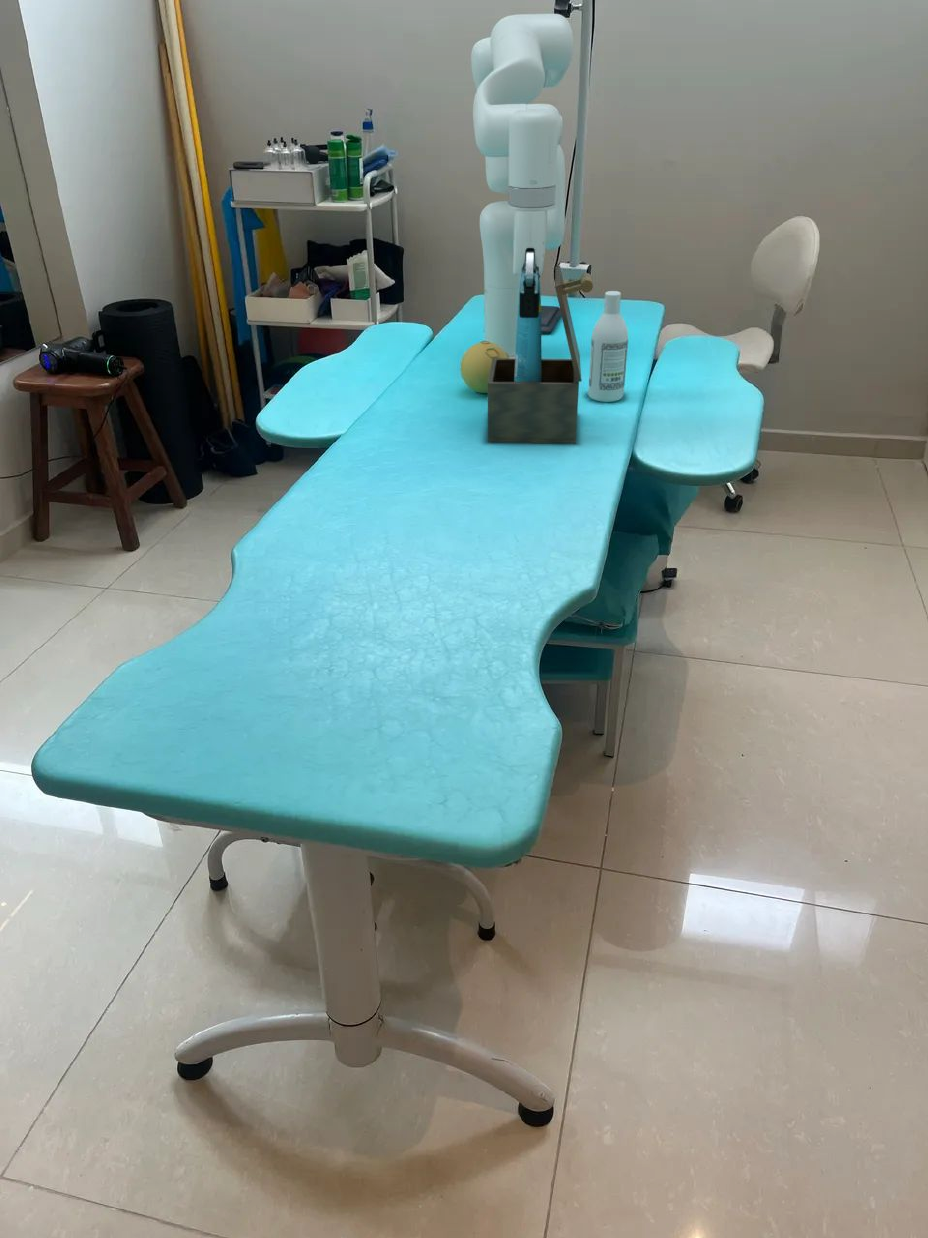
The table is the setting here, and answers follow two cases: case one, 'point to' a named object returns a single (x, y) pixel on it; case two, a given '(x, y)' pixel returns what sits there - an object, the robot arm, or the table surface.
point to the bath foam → (608, 352)
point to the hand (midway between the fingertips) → (529, 310)
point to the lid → (561, 292)
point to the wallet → (549, 318)
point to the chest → (533, 404)
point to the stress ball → (479, 364)
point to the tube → (528, 345)
